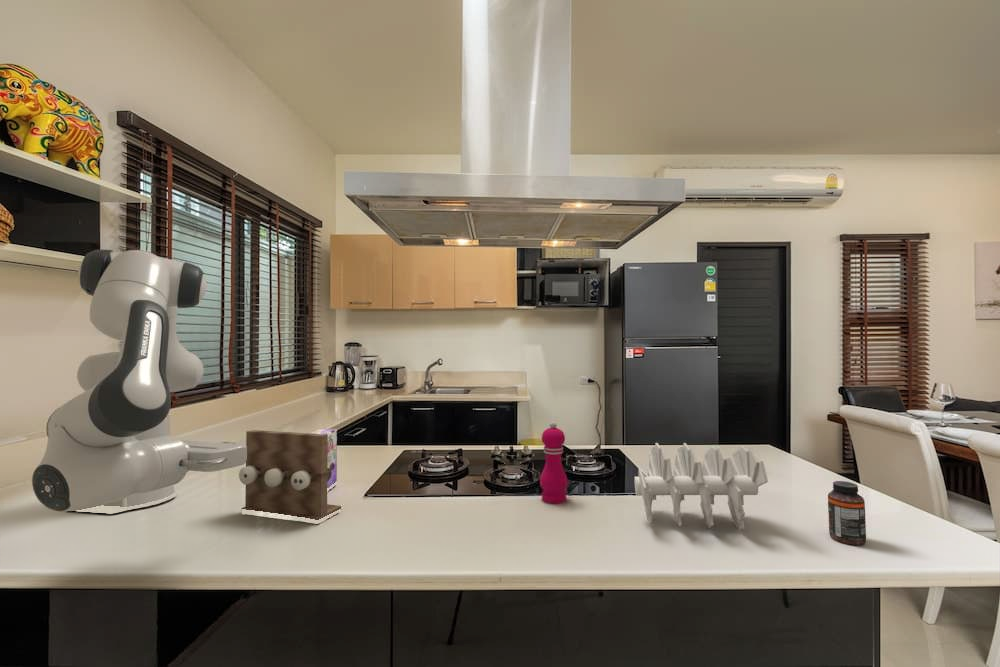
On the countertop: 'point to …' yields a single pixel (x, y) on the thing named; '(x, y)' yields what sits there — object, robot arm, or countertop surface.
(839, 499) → the supplement bottle
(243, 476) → the one dot button
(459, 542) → the countertop surface
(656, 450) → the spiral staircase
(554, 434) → the pepper mill
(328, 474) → the candy box
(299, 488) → the two dot button
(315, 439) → the button panel
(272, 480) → the plain button
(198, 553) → the countertop surface
